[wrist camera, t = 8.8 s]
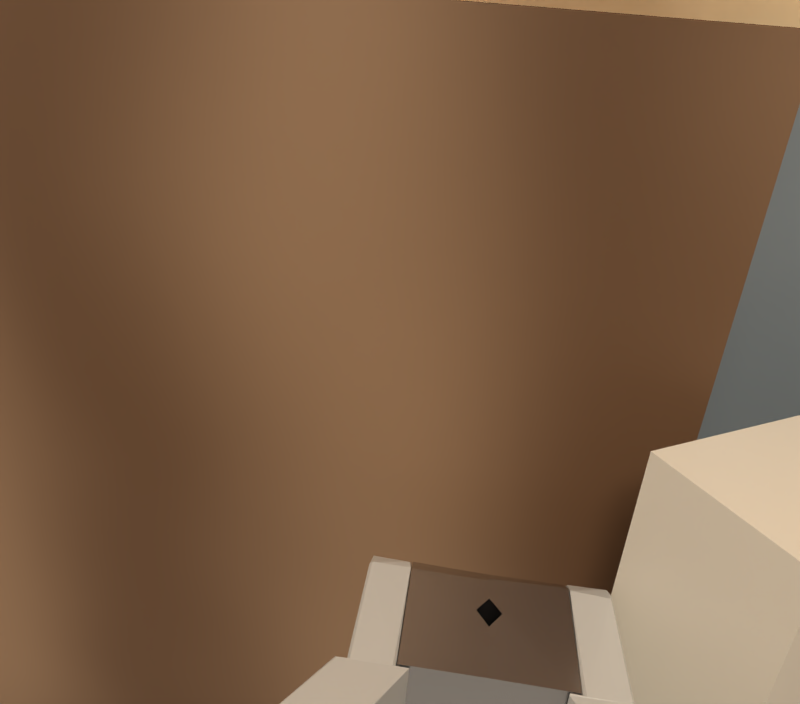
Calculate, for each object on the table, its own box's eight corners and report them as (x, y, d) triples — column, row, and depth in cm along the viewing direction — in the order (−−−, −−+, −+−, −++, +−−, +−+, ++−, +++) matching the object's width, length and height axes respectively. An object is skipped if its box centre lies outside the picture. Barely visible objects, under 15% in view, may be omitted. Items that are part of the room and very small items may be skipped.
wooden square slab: (707, 30, 10) (822, 29, 7) (549, 684, 16) (564, 870, 13) (-218, -46, 11) (-543, -82, 8) (-48, 590, 17) (-189, 734, 14)
